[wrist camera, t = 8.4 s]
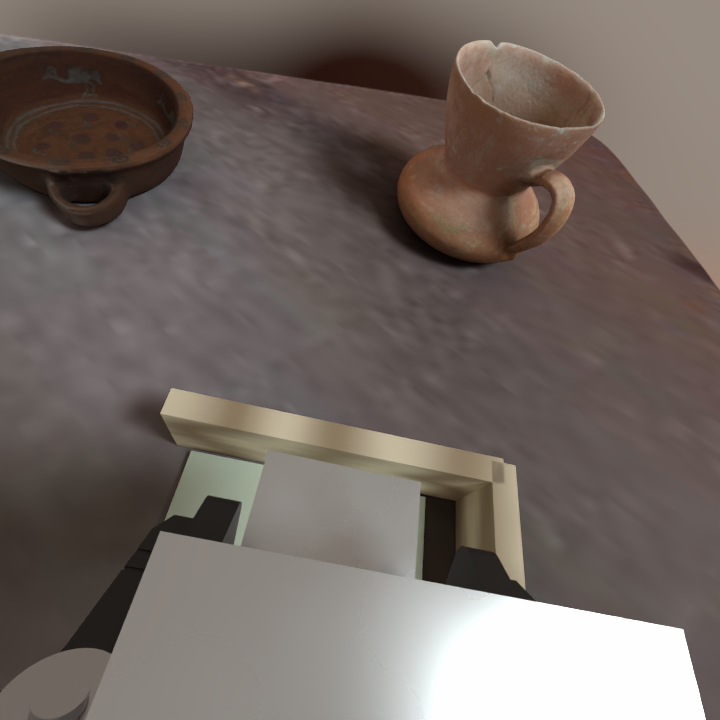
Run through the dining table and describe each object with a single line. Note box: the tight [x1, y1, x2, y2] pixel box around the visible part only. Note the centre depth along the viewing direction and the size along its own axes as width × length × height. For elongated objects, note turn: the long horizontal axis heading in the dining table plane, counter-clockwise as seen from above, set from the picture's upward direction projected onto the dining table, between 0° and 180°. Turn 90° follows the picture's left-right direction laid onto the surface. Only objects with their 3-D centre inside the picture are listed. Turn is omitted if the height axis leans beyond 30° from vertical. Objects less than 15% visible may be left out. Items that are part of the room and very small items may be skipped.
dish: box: [0, 46, 193, 227], centre depth 34 cm, size 18×22×5 cm
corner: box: [160, 388, 525, 589], centre depth 20 cm, size 20×17×5 cm
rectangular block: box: [86, 450, 705, 720], centre depth 8 cm, size 6×5×10 cm
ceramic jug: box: [397, 40, 605, 263], centre depth 36 cm, size 18×14×14 cm
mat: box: [165, 451, 426, 580], centre depth 21 cm, size 15×15×1 cm
